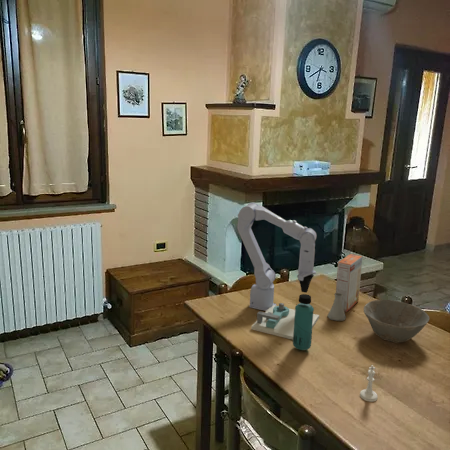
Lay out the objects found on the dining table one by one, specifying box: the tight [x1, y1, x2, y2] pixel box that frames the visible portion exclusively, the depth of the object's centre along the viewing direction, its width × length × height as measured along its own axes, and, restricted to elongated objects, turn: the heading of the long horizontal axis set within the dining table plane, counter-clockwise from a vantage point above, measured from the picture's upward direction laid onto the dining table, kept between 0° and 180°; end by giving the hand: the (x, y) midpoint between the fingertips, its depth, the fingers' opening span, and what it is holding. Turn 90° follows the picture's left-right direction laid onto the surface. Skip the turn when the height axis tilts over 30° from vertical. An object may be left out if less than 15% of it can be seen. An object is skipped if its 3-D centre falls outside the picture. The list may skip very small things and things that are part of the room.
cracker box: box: [335, 253, 363, 313], centre depth 187 cm, size 14×6×21 cm, turn 144°
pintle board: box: [250, 302, 320, 341], centre depth 171 cm, size 20×22×5 cm
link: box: [266, 305, 290, 328], centre depth 172 cm, size 17×6×2 cm, turn 156°
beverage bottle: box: [292, 293, 315, 351], centre depth 150 cm, size 6×7×20 cm
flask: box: [327, 292, 347, 322], centre depth 176 cm, size 7×7×10 cm
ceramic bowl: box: [363, 299, 430, 343], centre depth 162 cm, size 22×23×10 cm
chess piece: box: [359, 364, 378, 403], centre depth 127 cm, size 5×5×10 cm
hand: (304, 291), depth 178 cm, fingers closed
